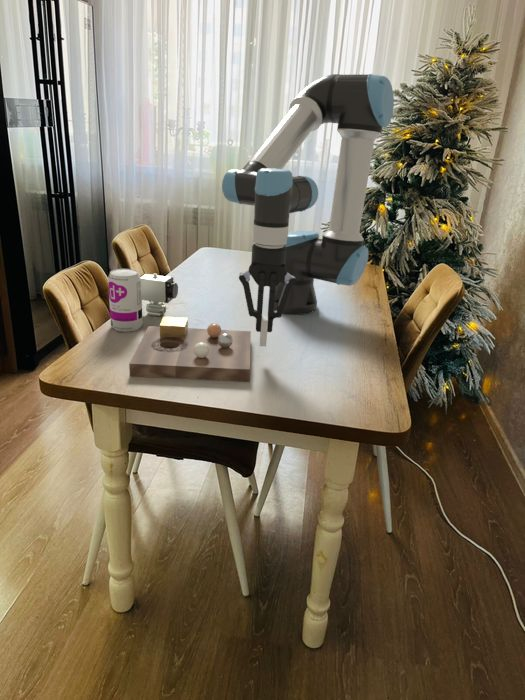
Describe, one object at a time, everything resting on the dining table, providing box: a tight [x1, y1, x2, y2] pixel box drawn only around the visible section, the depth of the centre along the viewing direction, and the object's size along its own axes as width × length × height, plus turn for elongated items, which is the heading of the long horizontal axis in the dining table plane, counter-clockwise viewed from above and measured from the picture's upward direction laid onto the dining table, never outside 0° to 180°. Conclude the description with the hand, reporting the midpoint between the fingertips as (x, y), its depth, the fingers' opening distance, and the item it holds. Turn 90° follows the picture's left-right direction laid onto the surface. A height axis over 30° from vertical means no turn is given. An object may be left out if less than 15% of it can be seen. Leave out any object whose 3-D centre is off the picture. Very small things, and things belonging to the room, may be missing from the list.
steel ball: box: [218, 333, 233, 348], centre depth 119 cm, size 4×4×4 cm
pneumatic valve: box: [140, 273, 179, 318], centre depth 143 cm, size 6×12×12 cm, turn 78°
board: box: [128, 325, 252, 383], centre depth 120 cm, size 26×22×3 cm
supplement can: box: [107, 268, 144, 333], centre depth 132 cm, size 8×8×15 cm
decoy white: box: [194, 342, 209, 358], centre depth 113 cm, size 4×4×4 cm
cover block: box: [159, 316, 189, 338], centre depth 125 cm, size 6×6×3 cm
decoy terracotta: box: [206, 323, 222, 338], centre depth 124 cm, size 4×4×4 cm
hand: (262, 343), depth 119 cm, fingers closed
